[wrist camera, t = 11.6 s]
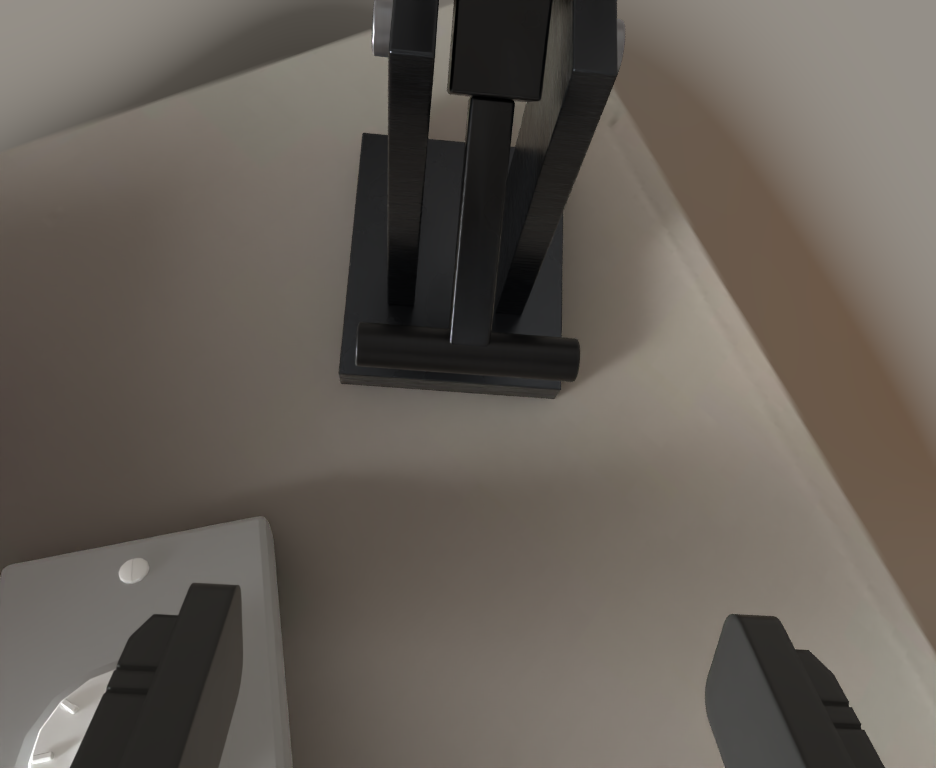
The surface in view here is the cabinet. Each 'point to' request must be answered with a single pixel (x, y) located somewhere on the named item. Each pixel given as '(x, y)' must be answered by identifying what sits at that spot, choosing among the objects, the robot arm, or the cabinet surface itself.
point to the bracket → (439, 186)
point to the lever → (482, 206)
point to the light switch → (112, 623)
